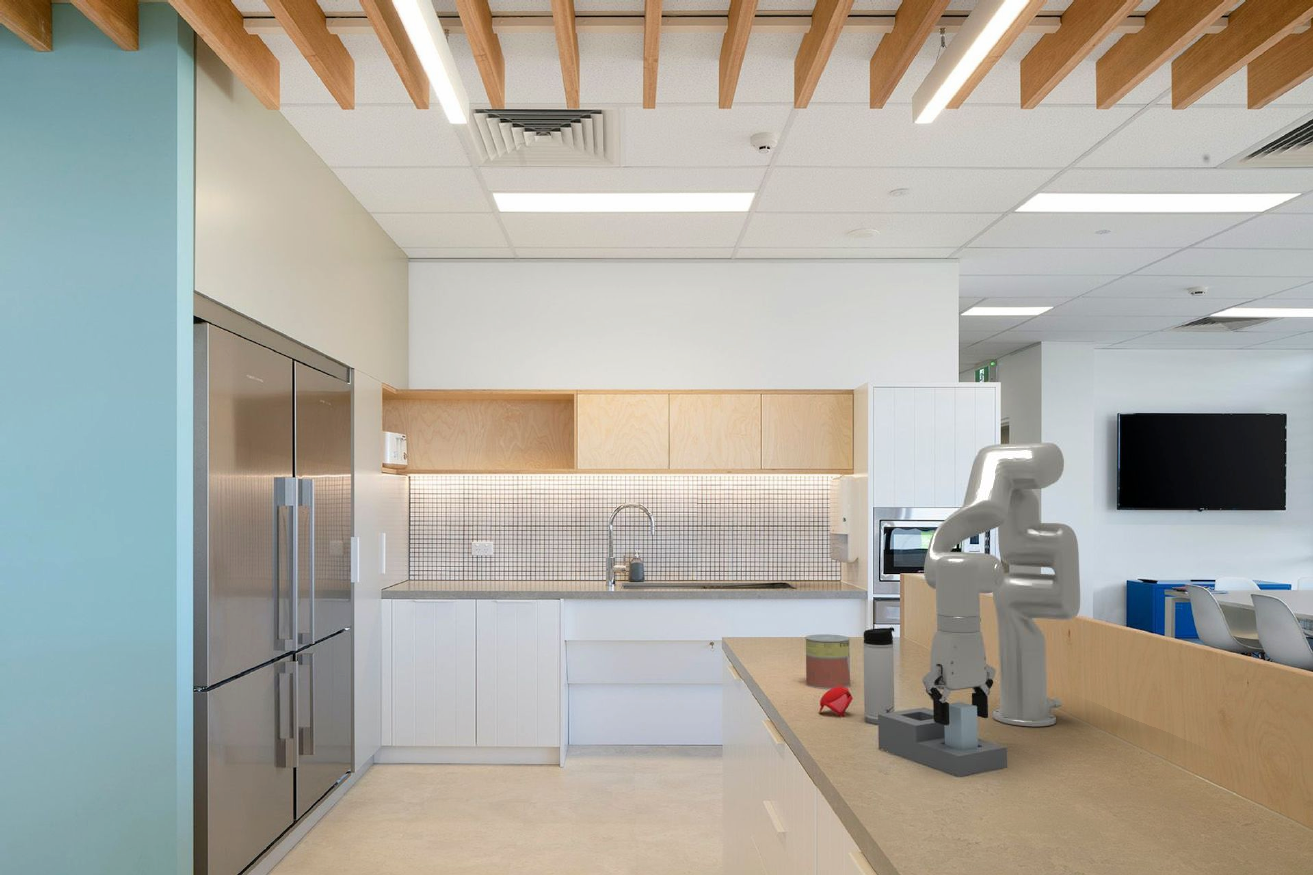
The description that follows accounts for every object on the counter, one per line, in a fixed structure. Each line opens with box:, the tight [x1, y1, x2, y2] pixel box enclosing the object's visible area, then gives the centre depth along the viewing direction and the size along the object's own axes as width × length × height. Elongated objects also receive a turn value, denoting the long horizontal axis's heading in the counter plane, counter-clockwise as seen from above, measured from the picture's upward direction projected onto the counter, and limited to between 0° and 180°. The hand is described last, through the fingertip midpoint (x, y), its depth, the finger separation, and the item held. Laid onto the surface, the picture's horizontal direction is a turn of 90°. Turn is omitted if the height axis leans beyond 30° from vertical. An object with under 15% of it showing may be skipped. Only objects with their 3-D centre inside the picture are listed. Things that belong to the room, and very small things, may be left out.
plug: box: [944, 701, 979, 750], centre depth 163 cm, size 4×5×10 cm
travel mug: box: [862, 626, 896, 726], centre depth 195 cm, size 6×7×20 cm
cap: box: [818, 687, 853, 717], centre depth 201 cm, size 8×6×6 cm
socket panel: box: [877, 707, 1008, 778], centre depth 167 cm, size 12×20×6 cm, turn 28°
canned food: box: [805, 634, 851, 690], centre depth 233 cm, size 11×11×12 cm
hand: (961, 719), depth 163 cm, fingers open, 9 cm apart
